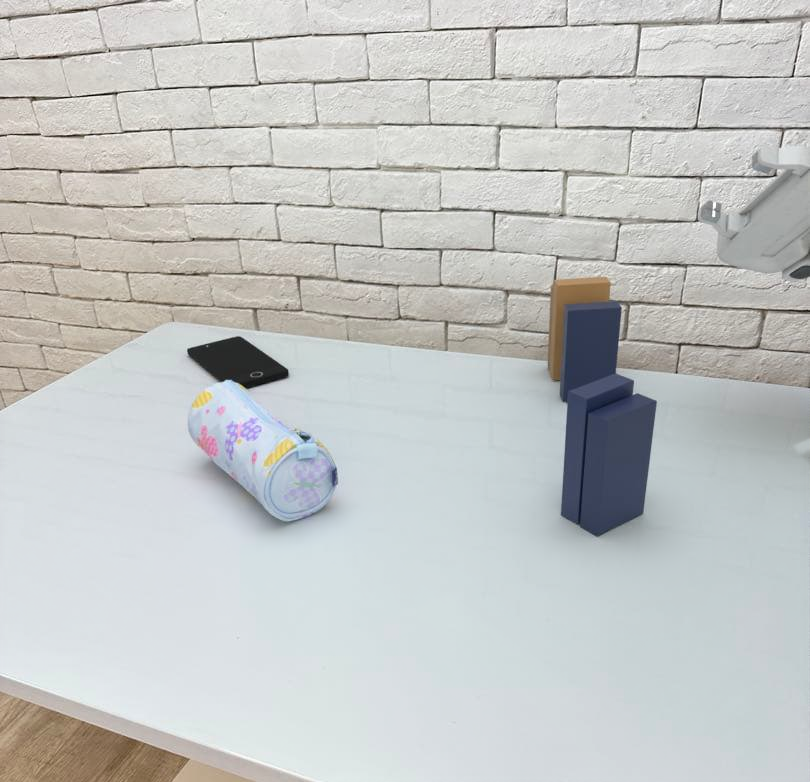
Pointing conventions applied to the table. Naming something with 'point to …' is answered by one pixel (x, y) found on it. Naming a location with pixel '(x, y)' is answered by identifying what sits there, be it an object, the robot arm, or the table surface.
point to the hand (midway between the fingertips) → (727, 185)
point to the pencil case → (262, 451)
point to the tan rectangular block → (561, 295)
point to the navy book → (589, 344)
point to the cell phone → (237, 362)
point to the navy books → (606, 454)
